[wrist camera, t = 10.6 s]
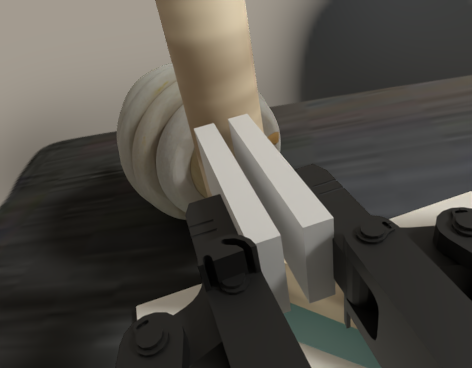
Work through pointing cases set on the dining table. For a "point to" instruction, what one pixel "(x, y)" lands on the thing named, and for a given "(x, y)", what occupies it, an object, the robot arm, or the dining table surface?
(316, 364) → the card
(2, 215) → the dining table surface
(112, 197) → the dining table surface
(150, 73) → the toy sheep
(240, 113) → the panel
